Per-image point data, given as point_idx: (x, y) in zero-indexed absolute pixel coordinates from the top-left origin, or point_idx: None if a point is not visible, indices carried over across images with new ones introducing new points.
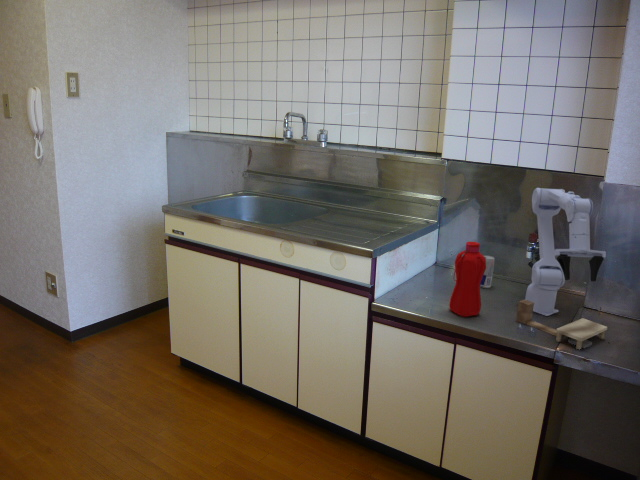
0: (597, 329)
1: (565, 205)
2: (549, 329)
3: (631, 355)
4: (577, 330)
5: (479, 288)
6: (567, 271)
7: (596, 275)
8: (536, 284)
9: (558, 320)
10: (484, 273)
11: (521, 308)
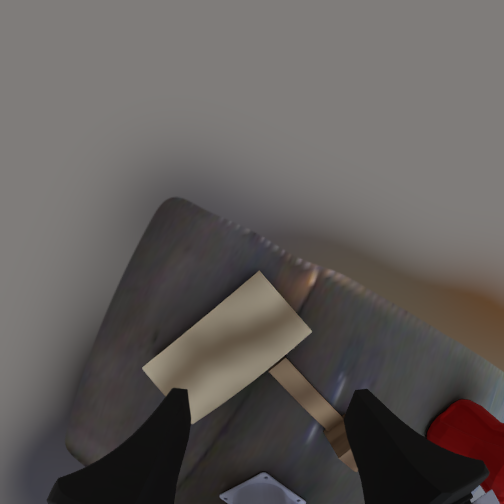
0: (179, 347)
1: None
2: (300, 382)
3: (132, 267)
4: (248, 330)
5: (470, 446)
6: (392, 418)
7: (160, 408)
8: None
9: (239, 455)
10: None
11: None
